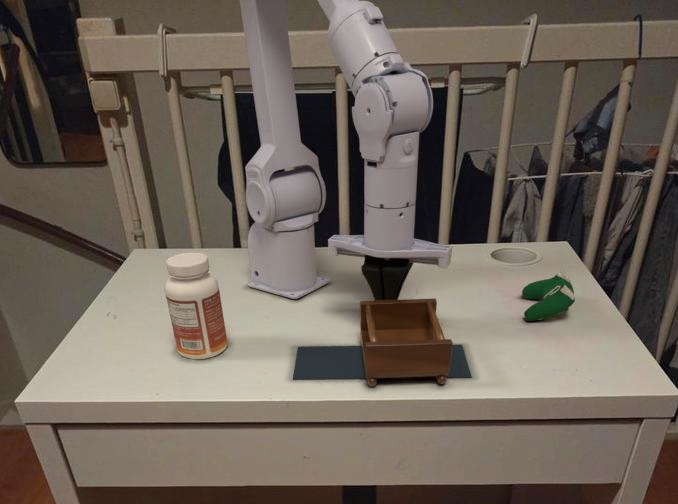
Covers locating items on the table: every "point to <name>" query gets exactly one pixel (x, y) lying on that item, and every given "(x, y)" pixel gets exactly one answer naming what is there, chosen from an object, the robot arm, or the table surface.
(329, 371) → the mat
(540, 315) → the green slippers
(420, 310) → the brown wooden box
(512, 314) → the table surface
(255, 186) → the robot arm
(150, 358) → the table surface
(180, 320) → the pill bottle
